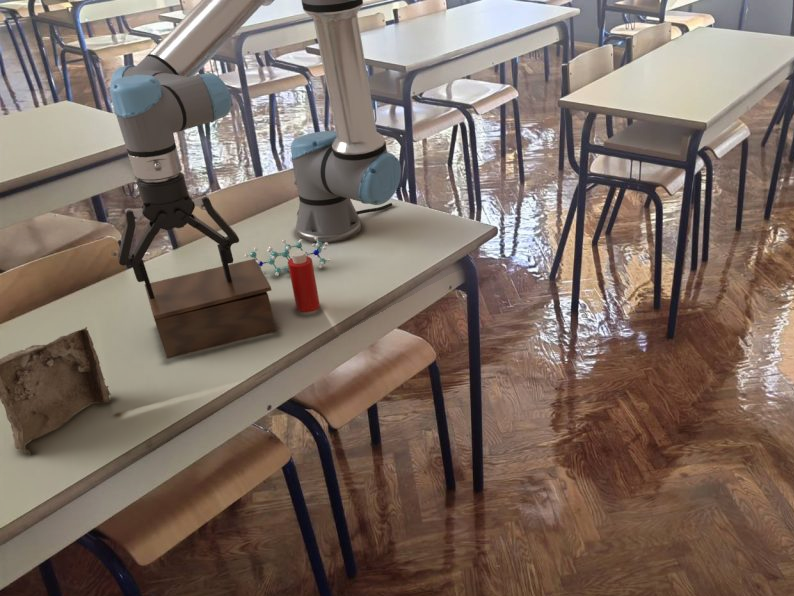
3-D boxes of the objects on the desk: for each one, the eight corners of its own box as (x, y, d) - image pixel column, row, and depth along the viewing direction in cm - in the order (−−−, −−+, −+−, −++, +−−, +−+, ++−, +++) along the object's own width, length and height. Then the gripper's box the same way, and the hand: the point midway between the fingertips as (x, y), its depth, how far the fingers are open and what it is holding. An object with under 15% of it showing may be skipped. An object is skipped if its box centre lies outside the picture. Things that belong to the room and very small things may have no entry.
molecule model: (247, 273, 167) (240, 242, 162) (326, 257, 173) (322, 228, 168) (253, 289, 161) (246, 258, 156) (335, 272, 167) (330, 242, 162)
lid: (255, 262, 150) (254, 258, 149) (271, 290, 140) (270, 286, 140) (145, 288, 142) (144, 284, 142) (154, 319, 133) (153, 316, 132)
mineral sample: (28, 457, 117) (-12, 376, 108) (11, 450, 118) (-30, 369, 109) (118, 399, 129) (88, 322, 120) (101, 393, 130) (71, 316, 122)
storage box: (261, 305, 155) (252, 265, 150) (276, 335, 145) (268, 294, 140) (158, 328, 148) (145, 288, 142) (168, 362, 138) (154, 320, 133)
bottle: (316, 302, 156) (306, 246, 148) (323, 312, 152) (313, 255, 145) (294, 307, 154) (283, 251, 147) (300, 318, 151) (289, 260, 143)
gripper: (78, 195, 120) (119, 312, 132) (239, 169, 129) (263, 280, 142) (76, 180, 125) (116, 293, 138) (230, 156, 135) (254, 264, 147)
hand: (190, 287), depth 140 cm, fingers open, 13 cm apart
